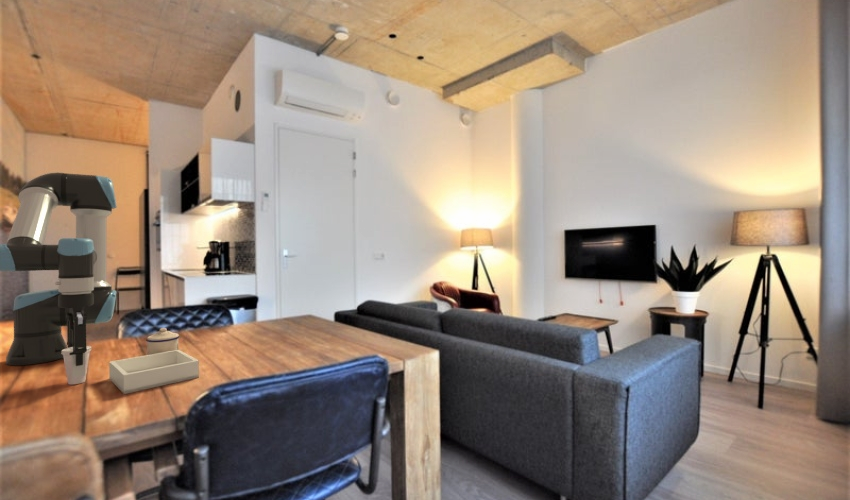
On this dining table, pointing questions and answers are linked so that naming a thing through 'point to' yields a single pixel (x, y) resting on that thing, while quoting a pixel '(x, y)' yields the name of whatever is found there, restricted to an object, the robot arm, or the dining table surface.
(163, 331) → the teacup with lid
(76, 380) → the smoothie
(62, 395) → the dining table surface
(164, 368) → the bin
